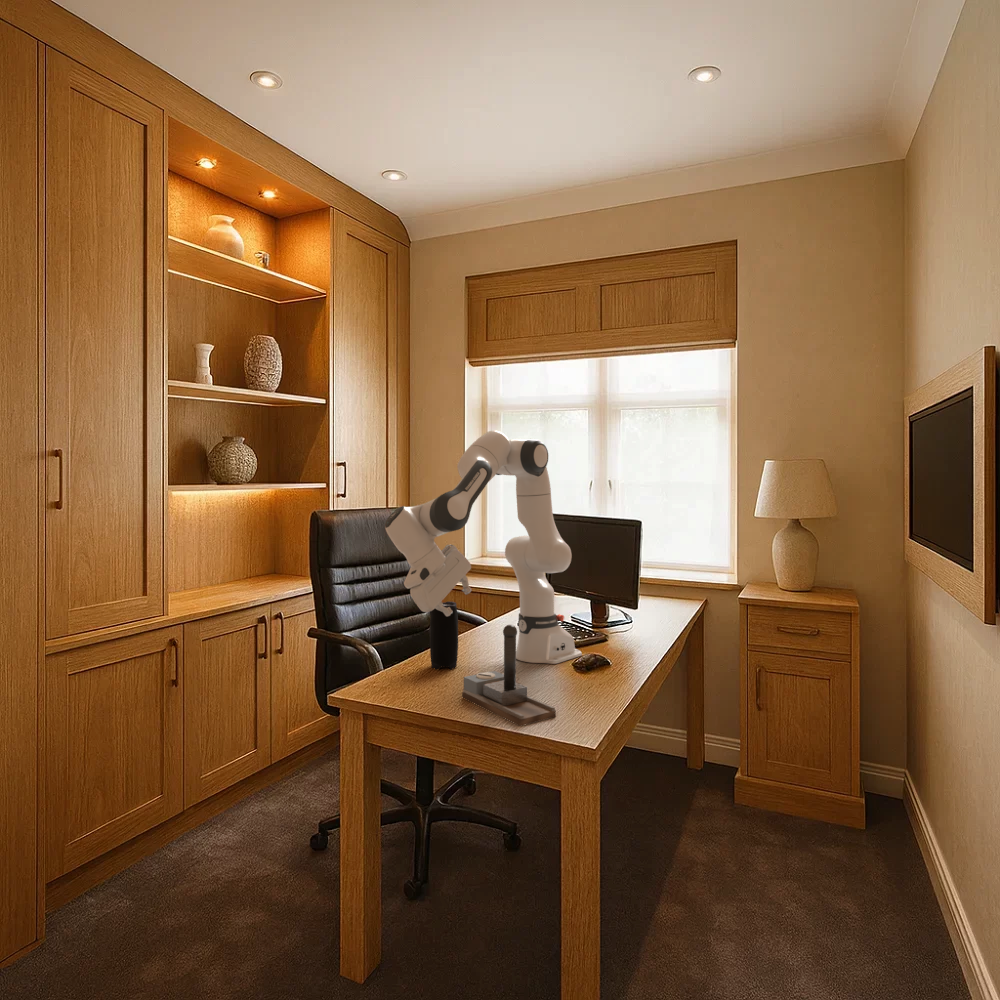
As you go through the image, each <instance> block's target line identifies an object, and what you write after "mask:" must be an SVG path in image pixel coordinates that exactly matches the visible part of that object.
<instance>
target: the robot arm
mask: <svg viewBox="0 0 1000 1000" xmlns="http://www.w3.org/2000/svg"><path fill="white" fill-rule="evenodd" d="M548 462H549V450H548V448H547V446H546V445H545V443H544V442H543V441H542V440H540V439H535V438H528V439H527V438H512V439H509V438H508V436H506V435H505V434H504V433H503V432H501V431H498V430H489V431H487V432H486V433H483V434H482V435H481V436H480V437H478V438H477V439H476V440H475V441H474V442H473V443H472V444H470V445H469V446H468V448H467V449H466V450H465V452H464V453H463V454H462V455H461V457H460V458H459V460H458V462H457V464H456V465H457V471H458V474H459V475H458V476H460V478H461V480H460V481H458V483H457V485H456V486H455V487H454V488H453V489H452V490H449V491H447V492H443V493H442V494H440V495H439V496H437V497H436V498H434V499H431V500H429V501H427V502H425V503H421V504H417V505H413V506H405V505H402V506H399V507H398V508H396V509H395V510H394V511H393V512H392V513H390V515H389V516H388V517H387V518H386V520H385V523H384V529H385V531H386V534H387V535H388V537H389V539H390V540H391V542H392V543H393V544H394V546H395V547H396V549H397V550H398V552H400V553H401V554H403V556H404V558H405V559H406V562H407V564H409V566H410V568H409V571H408V573H407V575H406V577H405V579H404V582H403V585H404V587H405V588H406V589H407V590H408V589H410V590H409V593H410V596H411V598H412V600H413V602H414V603H415V605H416V606H417V607H418V608H419V610H420V611H421V612H423V613H431V611H432V610H434V609H437V610H439V611H441V612H443V613H444V614H445V616H450V615H451V614H452V612H453V611H452V610H451V608H450V607H448V608H446V607H444V606H442V605H443V603H444V602H443V600H444V599H445V598H446V597H447V596H448V594H450V593H451V591H452V590H453V589H454V588H455V587H456V586H457V584H458V583H461V586H462V589H461V591H462V592H463V593H464V594H465V595H470V593H471V592H472V588H471V586H470V584H469V578H468V576H466V575H467V573H468V572H470V570H471V569H472V564H471V562H470V561H469V559H467V557H465V555H464V554H463V553H462V552H461V551H459V549H458V547H456V545H455V544H446V545H445V546H444V547H443V548H442V549H440V547H439V546H438V544H437V543H436V542H435V539H436V538H437V537H440V536H443V535H445V534H448V533H451V532H456V531H460V530H461V529H462V528H464V526H466V524H467V523H468V521H469V518H470V515H471V510H472V508H473V506H474V503H475V502H476V500H477V499H478V498H479V496H480V495H481V493H482V491H483V490H484V489H485V488H486V486H487V485H488V483H490V482H491V480H492V479H493V478H494V477H495V476H503V475H504V476H514V477H515V478H516V479H515V483H516V484H515V495H516V507H517V508H516V509H517V511H516V513H517V518H518V521H519V523H520V524H521V525H522V526H523V527H524V529H525V531H526V532H527V535H519V536H515V537H512V538H511V539H510V540H508V542H507V543H506V546H505V548H504V555H505V558H506V560H507V562H508V563H509V565H510V566H511V567H512V570H513V572H514V574H515V577H516V581H517V584H518V589H519V613H518V622H517V623H518V639H517V643H516V660H517V661H519V662H520V661H521V662H526V663H533V664H552V665H555V664H559V663H562V662H566V661H568V660H572V659H575V658H578V657H581V656H583V653H582V651H581V650H580V649H577V648H576V647H575V646H576V645H575V640H574V636H572V634H570V632H568V631H567V630H565V629H564V627H562V626H561V625H559V621H560V622H564V621H565V616H564V615H563V614H560V613H559V614H556V613H555V590H554V588H553V586H552V585H551V584H550V583H549V581H548V579H547V577H546V574H556V573H563V572H564V571H566V570H567V569H569V567H570V564H571V562H572V558H573V557H572V556H573V555H572V550H571V547H570V546H569V544H567V543H566V541H565V540H564V539H563V538H562V536H561V534H560V532H559V531H558V528H557V526H556V523H555V518H554V513H553V505H552V504H553V503H552V492H551V491H552V489H551V483H550V482H551V481H550V476H549V471H548V467H547V466H548ZM545 573H546V574H545Z"/></svg>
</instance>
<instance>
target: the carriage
mask: <svg viewBox="0 0 1000 1000" xmlns="http://www.w3.org/2000/svg"><path fill="white" fill-rule="evenodd" d="M502 635H503V638H504V639H503V674H504V680H503V681H498V682H493V683H488V684H484V685H483V697H485V698H487V699H489V700H492V701H494V702H496V703H498V704H500V705H502V706H506V705H511V704H515V703H519V702H523V701H527V696H528V686H526V685H524V684H521V683H518V682H517V680H516V678H517V659H516V649H517V635H518V630H517V627H516V626H515V625H513V624H507V625H505V626H504V627H503V629H502Z"/></svg>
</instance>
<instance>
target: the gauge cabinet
mask: <svg viewBox="0 0 1000 1000" xmlns="http://www.w3.org/2000/svg"><path fill="white" fill-rule="evenodd" d="M503 680H504V673H501V672H498V671H496V670H491V671H484V672H478V673H476V674H472V675H467V676H463V689H465V690H467V691H469V692H471V693H474V694H476V695H478V694H479V695H481V696H483V685H484V684H487V683H492V682H497V681H503Z"/></svg>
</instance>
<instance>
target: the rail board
mask: <svg viewBox="0 0 1000 1000" xmlns="http://www.w3.org/2000/svg"><path fill="white" fill-rule="evenodd" d="M461 694H462V695H461V698H462V697H463V698H465V699H467V700H466V701H468V700H469V701H468V702H470V701H471V702H470V703H472V702H473V703H472V704H474V703H475V704H474V705H476V704H477V705H476V706H478V705H479V706H478V707H480V706H481V707H480V708H482V707H483V709H484V708H485V709H484V710H486V709H487V710H486V711H488V710H489V712H490V711H491V713H492V712H493V713H492V714H494V713H495V715H496V714H497V715H496V716H498V715H499V716H498V717H500V716H501V717H500V718H503V719H505V718H506V719H505V720H507V719H508V720H507V721H509V720H510V721H509V722H511V721H512V722H511V723H513V722H514V723H513V724H515V725H518V726H519V727H521V725H522V726H526V725H529V724H533V723H537V722H540V721H544V720H548V719H551V718H556V716H557V714H556V713H557V712H556V708H555V706H553V705H550V704H547V703H546V702H543V701H540V700H538V699H536V698H534V697H531V696H530V695H529V696H528V695H527V701H523V702H519V703H515V704H511V705H506V706H502V705H500V704H498V703H496V702H494V701H492V700H489V699H487V698H485V697H483V696H481V695H479V694H478V695H476V694H474V693H471V692H469V691H467V690H465V689H464V688H463V689H462V692H461ZM463 698H462V699H463ZM465 699H464V700H465ZM525 724H526V725H525Z"/></svg>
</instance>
